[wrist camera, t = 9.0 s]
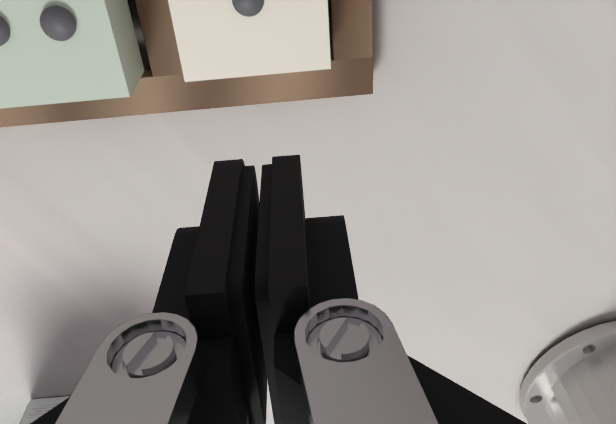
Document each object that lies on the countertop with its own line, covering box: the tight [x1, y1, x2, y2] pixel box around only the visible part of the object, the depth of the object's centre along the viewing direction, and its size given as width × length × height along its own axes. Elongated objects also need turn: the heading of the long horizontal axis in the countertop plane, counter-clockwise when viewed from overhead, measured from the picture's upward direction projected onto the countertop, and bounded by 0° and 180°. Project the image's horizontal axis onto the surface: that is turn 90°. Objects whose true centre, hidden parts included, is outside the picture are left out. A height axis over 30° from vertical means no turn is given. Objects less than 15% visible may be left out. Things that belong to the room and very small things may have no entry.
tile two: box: [0, 0, 144, 109], centre depth 21 cm, size 6×6×3 cm
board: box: [0, 0, 373, 127], centre depth 23 cm, size 26×10×2 cm, turn 94°
